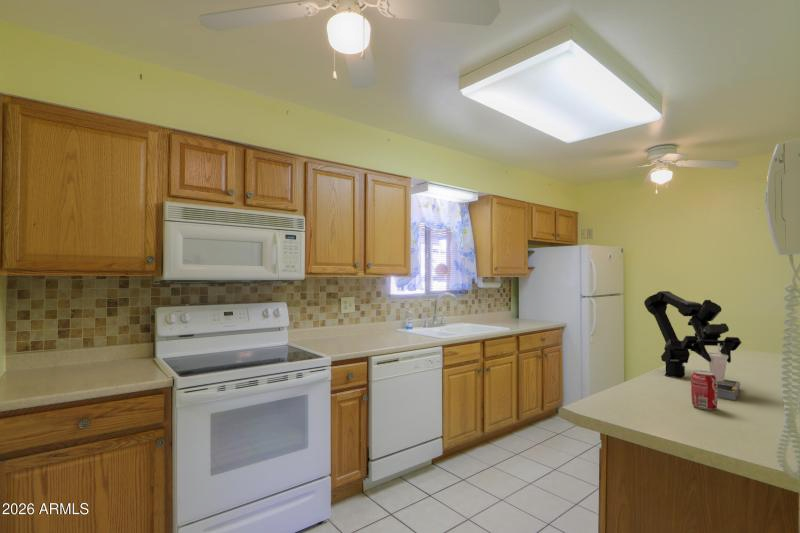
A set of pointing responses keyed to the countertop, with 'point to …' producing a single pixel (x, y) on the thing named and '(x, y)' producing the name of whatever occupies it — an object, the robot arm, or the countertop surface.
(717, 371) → the white cup
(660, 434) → the countertop surface
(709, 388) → the soda can
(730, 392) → the frame
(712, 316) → the robot arm
